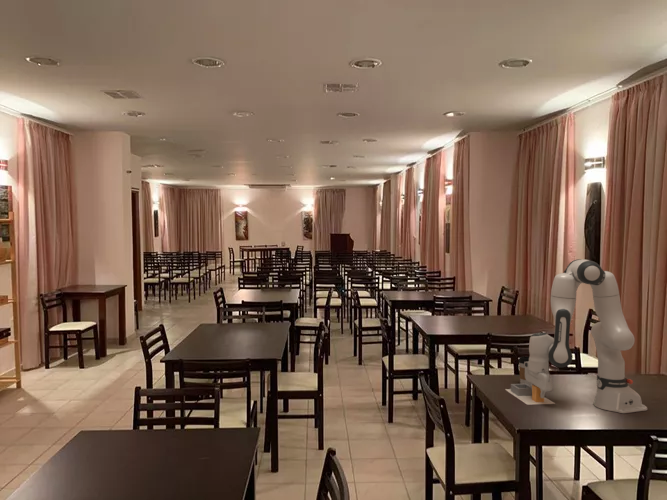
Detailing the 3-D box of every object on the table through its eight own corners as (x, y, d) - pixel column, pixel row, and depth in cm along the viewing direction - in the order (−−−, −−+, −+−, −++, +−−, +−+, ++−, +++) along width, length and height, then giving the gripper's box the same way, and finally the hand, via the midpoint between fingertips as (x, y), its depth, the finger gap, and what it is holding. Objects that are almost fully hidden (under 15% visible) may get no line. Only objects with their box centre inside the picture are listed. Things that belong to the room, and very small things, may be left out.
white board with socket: (530, 390, 271) (530, 381, 271) (555, 405, 247) (555, 396, 247) (504, 391, 269) (504, 382, 269) (527, 406, 245) (527, 397, 245)
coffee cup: (518, 386, 277) (518, 358, 277) (517, 382, 285) (518, 355, 285) (535, 388, 275) (535, 359, 274) (534, 383, 283) (534, 356, 282)
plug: (539, 399, 253) (540, 381, 253) (544, 401, 249) (544, 383, 249) (532, 399, 253) (532, 381, 253) (536, 402, 249) (536, 384, 249)
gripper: (556, 372, 241) (555, 402, 241) (534, 361, 261) (534, 388, 261) (543, 372, 240) (542, 402, 240) (522, 361, 260) (522, 389, 261)
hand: (538, 395), depth 251 cm, fingers open, 6 cm apart
